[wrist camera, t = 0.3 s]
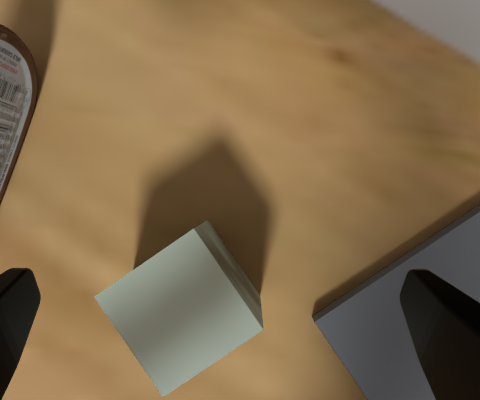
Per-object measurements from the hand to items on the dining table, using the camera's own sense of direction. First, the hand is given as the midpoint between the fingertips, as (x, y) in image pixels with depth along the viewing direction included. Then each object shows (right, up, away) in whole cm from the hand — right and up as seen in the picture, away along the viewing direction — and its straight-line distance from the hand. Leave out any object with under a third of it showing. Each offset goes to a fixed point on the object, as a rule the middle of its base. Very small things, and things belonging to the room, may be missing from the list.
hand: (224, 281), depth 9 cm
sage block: (-2, -4, +15) cm, 16 cm away
